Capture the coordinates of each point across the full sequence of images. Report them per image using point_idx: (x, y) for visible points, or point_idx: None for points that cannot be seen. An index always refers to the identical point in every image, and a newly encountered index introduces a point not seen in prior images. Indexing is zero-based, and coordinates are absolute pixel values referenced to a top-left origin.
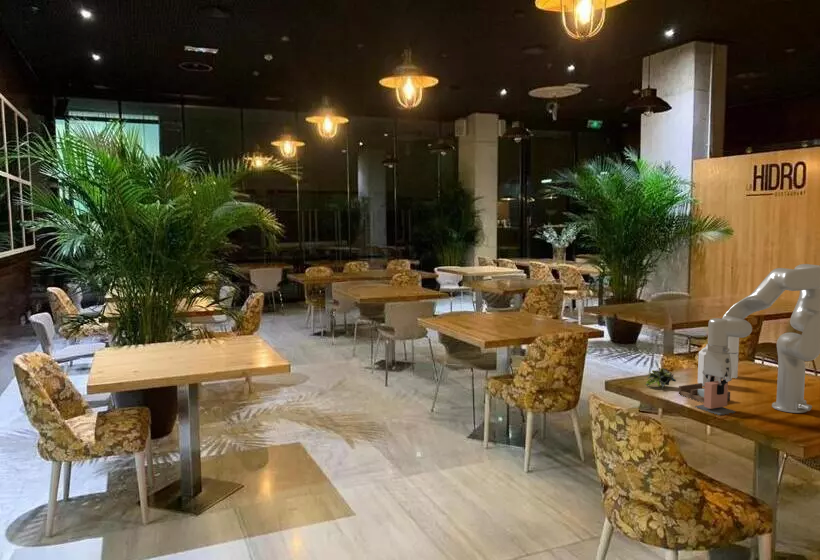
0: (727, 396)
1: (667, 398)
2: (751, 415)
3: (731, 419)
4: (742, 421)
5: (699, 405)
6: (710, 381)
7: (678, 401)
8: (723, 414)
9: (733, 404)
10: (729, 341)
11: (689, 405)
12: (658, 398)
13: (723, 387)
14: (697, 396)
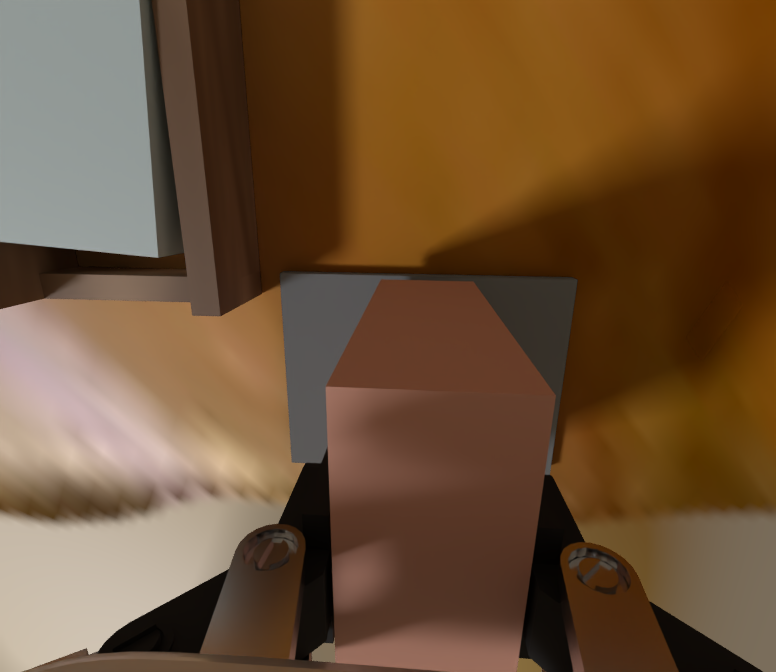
0: (489, 304)
1: (17, 451)
2: (712, 205)
3: (663, 465)
4: (752, 434)
5: (292, 422)
6: (310, 630)
7: (113, 440)
8: (553, 428)
9: (359, 24)
10: None
11: (234, 451)
12: (6, 507)
13: (575, 542)
14: (110, 298)
